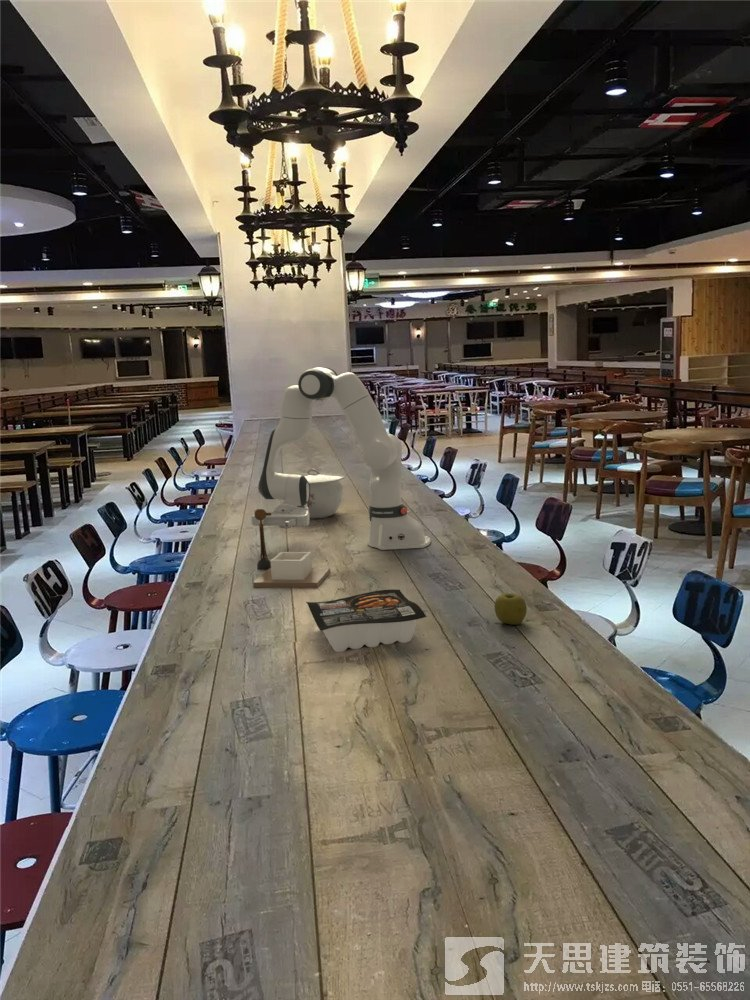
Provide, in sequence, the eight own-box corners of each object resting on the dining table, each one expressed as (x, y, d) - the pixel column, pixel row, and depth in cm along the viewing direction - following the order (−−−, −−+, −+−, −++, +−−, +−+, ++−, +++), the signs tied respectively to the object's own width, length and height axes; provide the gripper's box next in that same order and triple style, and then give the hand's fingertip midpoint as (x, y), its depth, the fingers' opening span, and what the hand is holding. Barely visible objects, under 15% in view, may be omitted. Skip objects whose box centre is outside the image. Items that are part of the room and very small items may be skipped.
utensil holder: (330, 572, 246) (329, 549, 244) (317, 587, 230) (315, 563, 229) (270, 572, 250) (268, 549, 248) (253, 587, 234) (251, 563, 233)
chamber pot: (345, 521, 321) (343, 471, 317) (279, 524, 322) (276, 474, 318) (349, 507, 348) (346, 462, 344) (288, 510, 349) (285, 465, 345)
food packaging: (399, 587, 202) (426, 613, 181) (400, 614, 204) (427, 644, 182) (304, 599, 196) (321, 628, 175) (306, 627, 198) (323, 659, 176)
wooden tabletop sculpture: (275, 565, 257) (271, 506, 254) (274, 569, 253) (269, 509, 249) (258, 566, 257) (253, 507, 253) (256, 570, 253) (251, 510, 249)
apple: (504, 616, 198) (503, 589, 196) (532, 621, 193) (532, 594, 191) (488, 625, 192) (488, 597, 191) (517, 631, 187) (517, 602, 186)
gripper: (257, 506, 279) (244, 514, 266) (312, 506, 275) (302, 515, 262) (258, 523, 280) (245, 532, 267) (313, 524, 277) (303, 533, 263)
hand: (274, 524), depth 264 cm, fingers open, 8 cm apart
